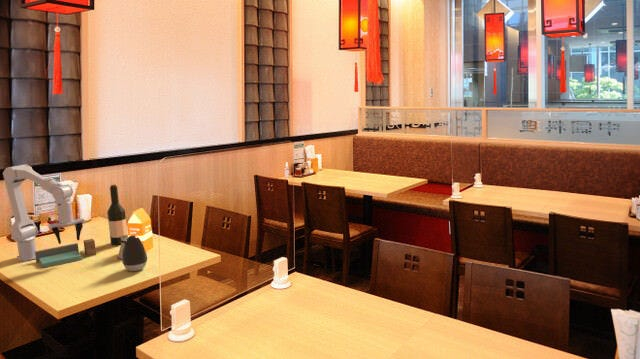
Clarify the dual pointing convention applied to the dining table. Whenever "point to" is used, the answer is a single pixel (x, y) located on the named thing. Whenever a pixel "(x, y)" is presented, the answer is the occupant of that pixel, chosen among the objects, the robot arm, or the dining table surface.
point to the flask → (122, 246)
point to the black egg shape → (134, 254)
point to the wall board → (58, 255)
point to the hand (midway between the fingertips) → (69, 241)
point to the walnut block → (89, 247)
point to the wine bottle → (116, 218)
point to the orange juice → (141, 228)
